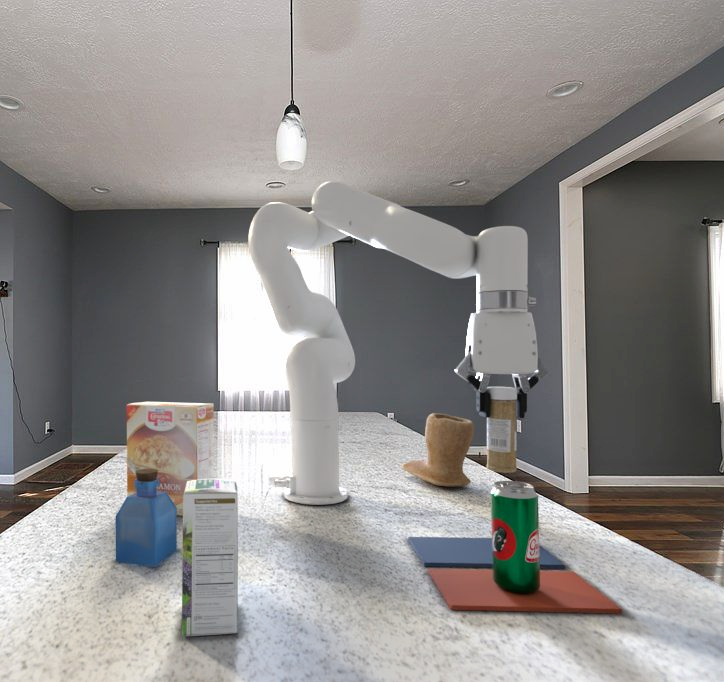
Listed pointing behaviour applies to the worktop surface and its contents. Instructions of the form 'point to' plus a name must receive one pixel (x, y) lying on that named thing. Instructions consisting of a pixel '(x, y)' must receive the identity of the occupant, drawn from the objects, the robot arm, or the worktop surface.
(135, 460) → the coffeecake box
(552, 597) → the terracotta mat
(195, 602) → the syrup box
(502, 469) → the sprinkles bottle
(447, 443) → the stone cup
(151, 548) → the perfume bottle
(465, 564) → the slate-blue mat
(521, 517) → the soda can
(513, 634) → the worktop surface
